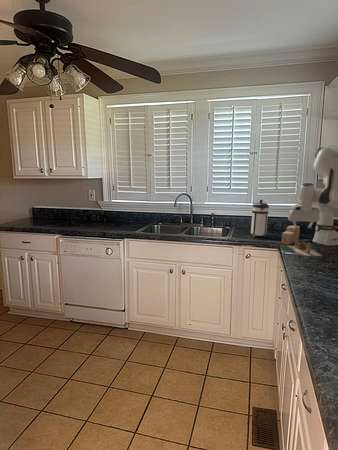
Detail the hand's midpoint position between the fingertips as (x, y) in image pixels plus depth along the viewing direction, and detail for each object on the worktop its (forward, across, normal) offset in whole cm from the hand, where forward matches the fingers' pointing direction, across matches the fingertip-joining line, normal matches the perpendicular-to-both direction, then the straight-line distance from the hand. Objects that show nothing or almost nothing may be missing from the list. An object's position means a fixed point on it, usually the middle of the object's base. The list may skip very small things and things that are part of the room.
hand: (302, 227), depth 210 cm
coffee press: (+16, +17, -43) cm, 49 cm away
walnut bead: (+14, 0, 0) cm, 14 cm away
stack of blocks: (+16, -1, -20) cm, 26 cm away
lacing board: (+16, 0, +6) cm, 17 cm away
